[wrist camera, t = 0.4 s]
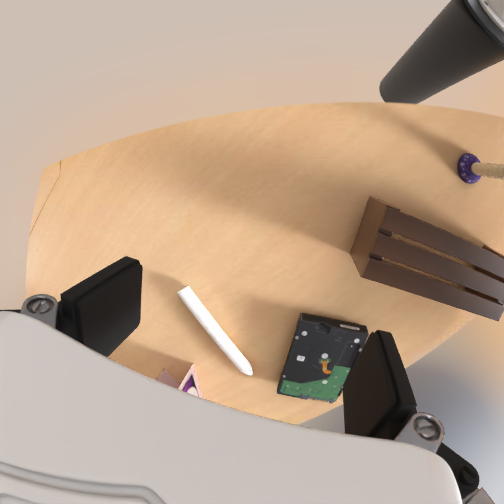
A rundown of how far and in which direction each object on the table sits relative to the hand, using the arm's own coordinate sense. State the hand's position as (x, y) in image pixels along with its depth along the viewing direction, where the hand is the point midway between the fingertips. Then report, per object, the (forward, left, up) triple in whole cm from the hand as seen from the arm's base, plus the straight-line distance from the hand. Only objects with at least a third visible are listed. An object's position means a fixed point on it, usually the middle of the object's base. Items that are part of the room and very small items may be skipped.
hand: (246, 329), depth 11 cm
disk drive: (+20, +11, -28) cm, 36 cm away
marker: (+21, -5, -28) cm, 35 cm away
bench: (-1, +20, -28) cm, 34 cm away
